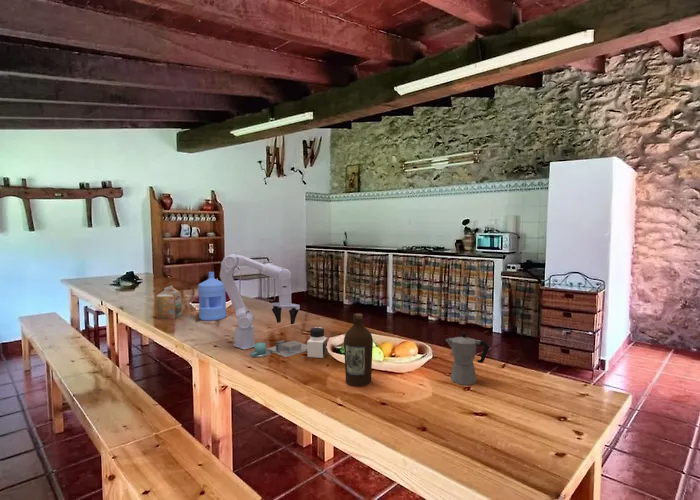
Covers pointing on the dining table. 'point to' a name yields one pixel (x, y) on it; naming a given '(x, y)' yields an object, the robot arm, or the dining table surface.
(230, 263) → the robot arm
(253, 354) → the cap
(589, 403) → the dining table surface
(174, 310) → the milk carton
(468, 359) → the coffeepot
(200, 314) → the water jug
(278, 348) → the post base
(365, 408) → the dining table surface
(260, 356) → the coaster
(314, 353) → the medicine bottle
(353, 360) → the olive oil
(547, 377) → the dining table surface
